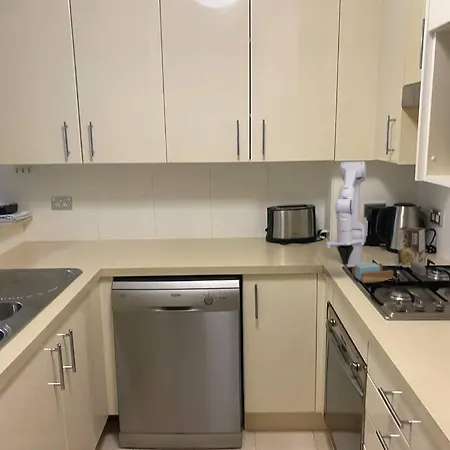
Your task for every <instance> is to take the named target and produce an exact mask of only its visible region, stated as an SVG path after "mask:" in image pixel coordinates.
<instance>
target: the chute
mask: <svg viewBox="0 0 450 450" xmlns="http://www.w3.org/2000/svg"><path fill="white" fill-rule="evenodd" d="M376 264H377V265H379V266H380V271H377V272H367V273H362V281H361V283H362V284H366V283H376V282H377V283H378V282H384V281H385V280H388V279H392V278H393V279H394V271H393V270H392V269H388V270H384V269H383V264H382V263H376ZM351 268H352V269H351V271H352V272H351V273H352V274H351V275H352V276H353V277H355V266H352V267H351ZM388 281H389V280H388ZM385 282H386V281H385Z"/></svg>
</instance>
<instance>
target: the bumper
mask: <svg viewBox="0 0 450 450" xmlns="http://www.w3.org/2000/svg"><path fill="white" fill-rule="evenodd" d="M411 270H412V272H413V273H415V274H417V275H418V276H420V277H424V276H427V268H426V266H424V267H423V266H421V265H419V264H417V263H411V268H410V271H411Z"/></svg>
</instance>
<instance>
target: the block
mask: <svg viewBox="0 0 450 450" xmlns="http://www.w3.org/2000/svg"><path fill="white" fill-rule="evenodd" d="M377 264H378V263H376V262H370V263H364V264H357V265H355V276H354V277H355V278H356V279H357V280H358V281H361V282H362V273H367V272H377V271H380V266H379V265H377Z"/></svg>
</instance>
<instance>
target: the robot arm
mask: <svg viewBox="0 0 450 450" xmlns="http://www.w3.org/2000/svg"><path fill="white" fill-rule="evenodd" d="M339 165H340V166H339V174H340V176H341V180H342V181H343V185H342V186H341V187H340V188H339V194H338V196H337V197H338V198H337V200H335V202H334V212H335V218H336V232H337V233H336V240H331V241H325V248H326V249H330V248H336V249H337V250H338V253H339V255H340V258H341V260H340V261H339V262H340V263H341V264H342V265H344V266H346V267H347V268H352V266H355V265H357V264H365V263H364V262H363V246H364V245H365V243H366V241H367V240H366V239H367V231H366V225H365V224H364V223H362V222H361V221H360V189H361V184H362V183H363V182H365V181H366V176H367V174H366V171H367V165H366V162H365V161H364V160H363V161H341V163H340V164H339Z"/></svg>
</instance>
